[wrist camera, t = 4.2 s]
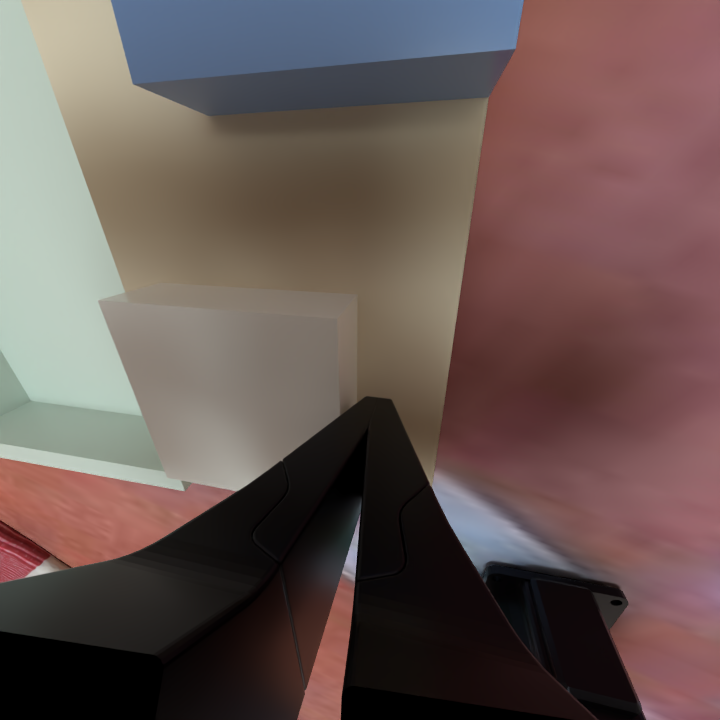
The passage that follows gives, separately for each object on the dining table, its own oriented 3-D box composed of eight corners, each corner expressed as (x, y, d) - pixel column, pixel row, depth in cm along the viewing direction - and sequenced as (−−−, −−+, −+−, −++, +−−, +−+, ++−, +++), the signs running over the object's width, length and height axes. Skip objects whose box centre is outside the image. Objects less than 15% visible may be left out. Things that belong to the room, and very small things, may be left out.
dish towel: (121, 651, 39) (101, 679, 36) (-54, 542, 33) (-90, 568, 31) (185, 633, 31) (166, 667, 29) (-24, 491, 26) (-69, 519, 24)
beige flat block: (427, 455, 14) (428, 514, 11) (230, 428, 16) (190, 473, 13) (549, -490, 5) (698, -1345, 2) (46, -300, 7) (-208, -639, 4)
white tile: (356, 461, 11) (342, 511, 9) (206, 437, 12) (166, 477, 10) (357, 294, 8) (337, 318, 6) (161, 282, 9) (97, 300, 7)
